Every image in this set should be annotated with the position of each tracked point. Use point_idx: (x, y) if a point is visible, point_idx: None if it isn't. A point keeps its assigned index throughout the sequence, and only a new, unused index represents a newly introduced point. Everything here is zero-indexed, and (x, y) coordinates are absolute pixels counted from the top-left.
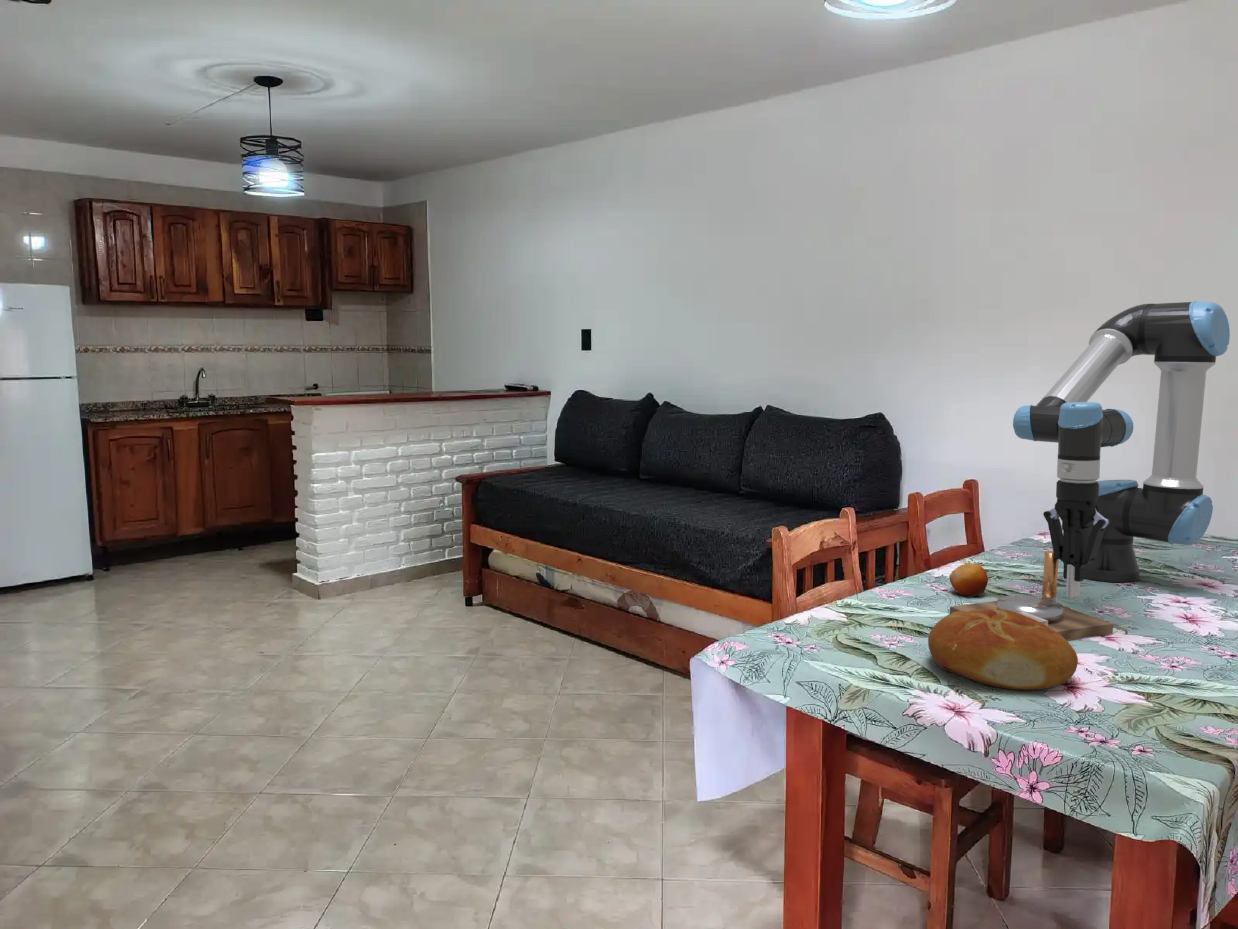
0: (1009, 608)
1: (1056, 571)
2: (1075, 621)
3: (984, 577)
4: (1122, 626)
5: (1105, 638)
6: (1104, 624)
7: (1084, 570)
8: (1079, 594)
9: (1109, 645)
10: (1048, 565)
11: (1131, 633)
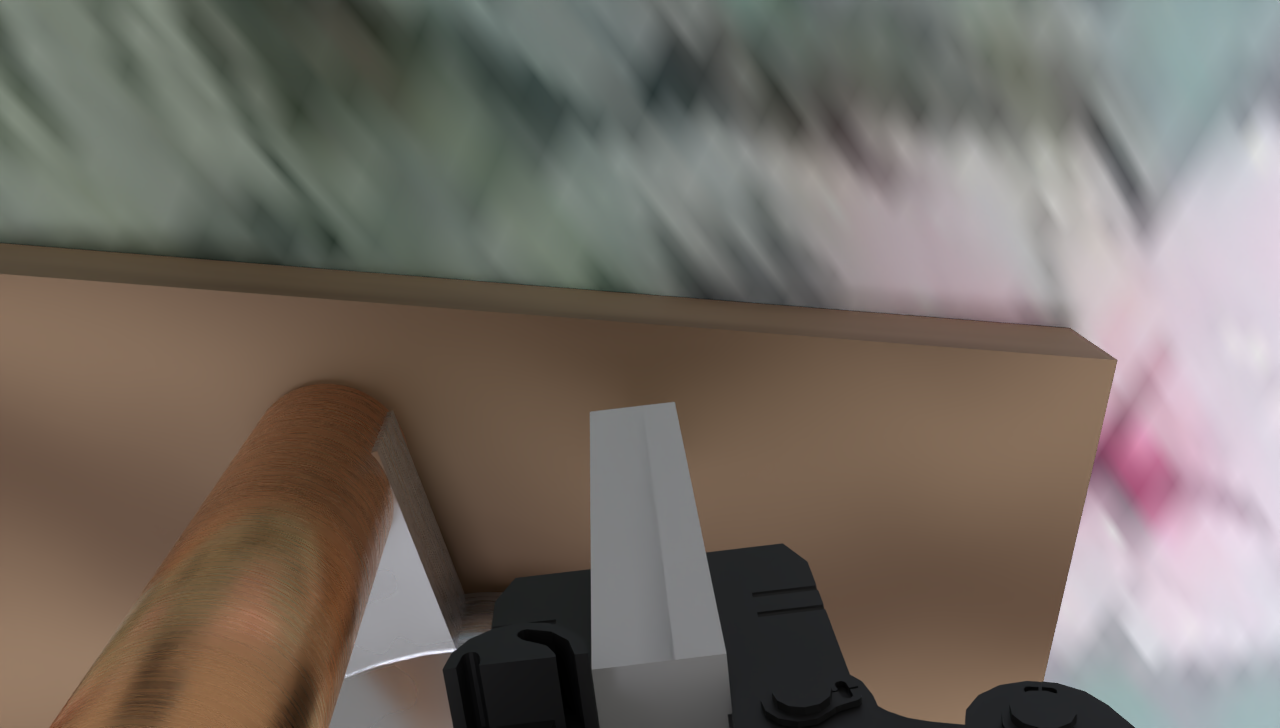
0: None
1: (327, 700)
2: (869, 642)
3: None
4: (985, 5)
5: (1106, 501)
6: (1083, 469)
7: (836, 641)
8: (675, 413)
9: (1227, 624)
10: None
11: (1166, 142)
